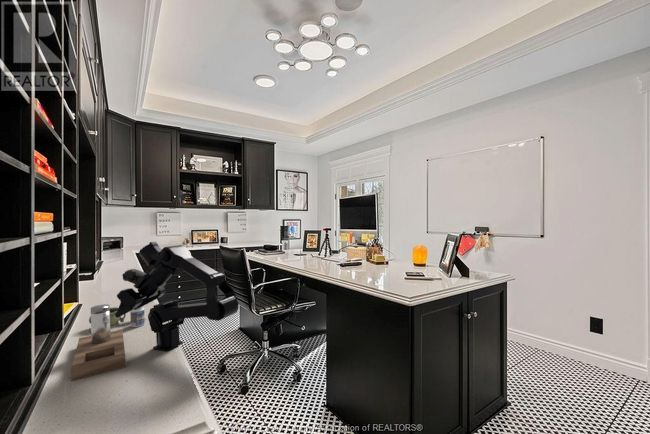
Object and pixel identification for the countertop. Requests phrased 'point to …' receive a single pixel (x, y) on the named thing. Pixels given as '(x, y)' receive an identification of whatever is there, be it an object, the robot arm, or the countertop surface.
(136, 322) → the pill bottle
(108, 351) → the plate
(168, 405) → the countertop surface
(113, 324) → the vessel
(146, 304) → the white supplement bottle
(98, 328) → the silver cylindrical piece
